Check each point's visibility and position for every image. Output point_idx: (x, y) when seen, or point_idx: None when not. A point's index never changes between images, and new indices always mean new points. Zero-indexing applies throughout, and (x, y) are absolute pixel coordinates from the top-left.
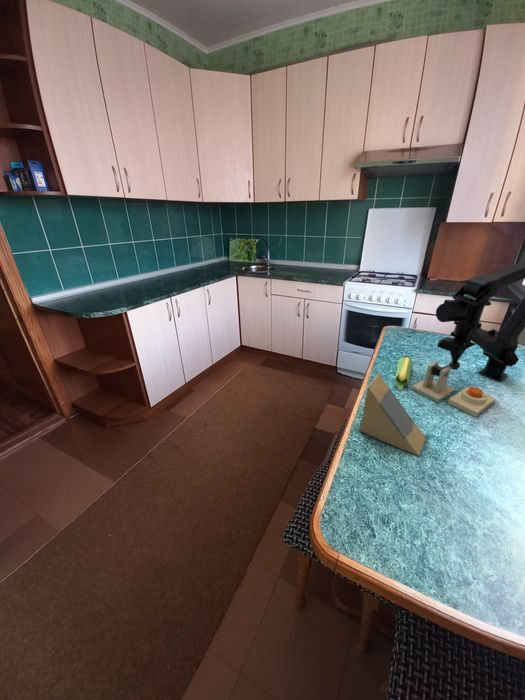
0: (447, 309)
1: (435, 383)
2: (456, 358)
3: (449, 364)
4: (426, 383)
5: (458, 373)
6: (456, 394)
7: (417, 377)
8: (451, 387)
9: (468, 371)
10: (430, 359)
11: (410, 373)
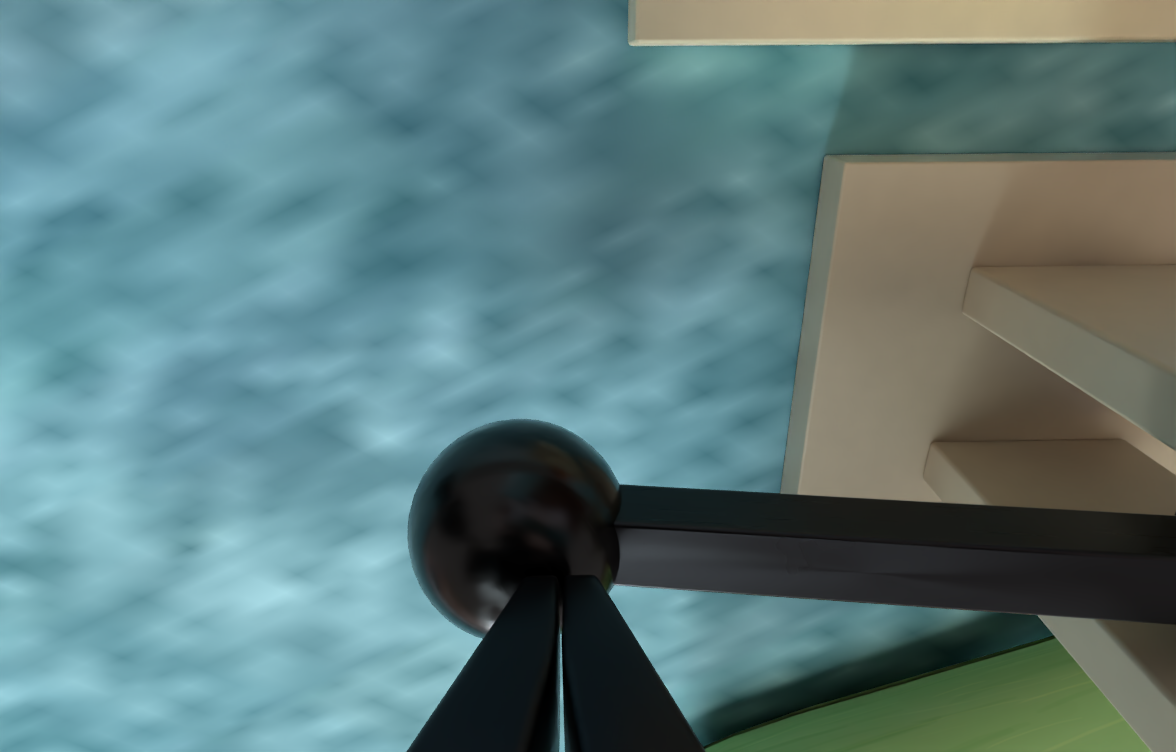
0: None
1: (910, 413)
2: (656, 688)
3: None
4: (1172, 475)
5: (230, 380)
6: (1096, 33)
7: (823, 604)
8: (854, 217)
9: (14, 325)
10: (250, 731)
11: (1011, 706)
